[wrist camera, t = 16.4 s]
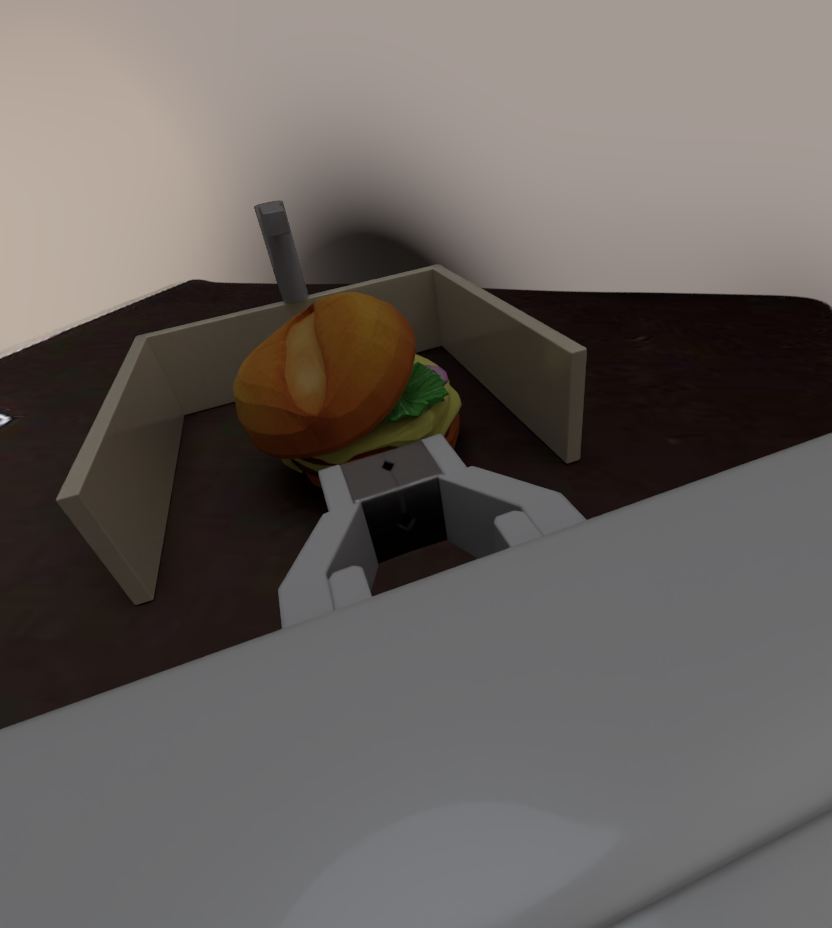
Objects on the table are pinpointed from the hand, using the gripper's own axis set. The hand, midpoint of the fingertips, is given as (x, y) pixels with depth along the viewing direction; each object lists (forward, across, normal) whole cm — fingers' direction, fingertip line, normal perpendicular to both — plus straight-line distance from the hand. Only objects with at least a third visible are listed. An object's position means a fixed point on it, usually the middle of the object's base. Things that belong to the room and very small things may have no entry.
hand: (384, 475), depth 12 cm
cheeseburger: (+13, -1, +9) cm, 16 cm away
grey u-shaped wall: (+17, 0, +8) cm, 19 cm away
